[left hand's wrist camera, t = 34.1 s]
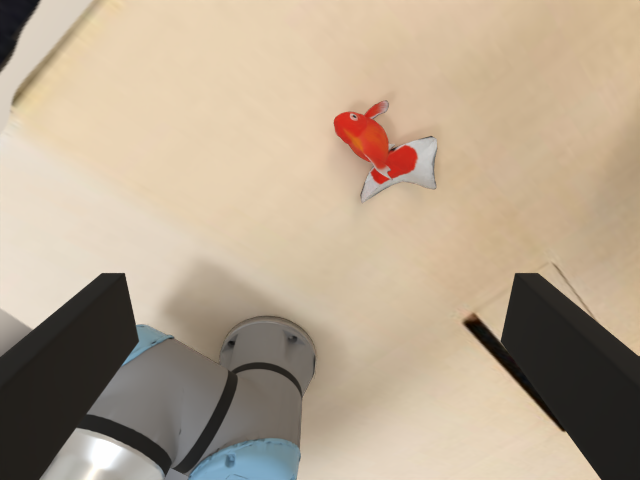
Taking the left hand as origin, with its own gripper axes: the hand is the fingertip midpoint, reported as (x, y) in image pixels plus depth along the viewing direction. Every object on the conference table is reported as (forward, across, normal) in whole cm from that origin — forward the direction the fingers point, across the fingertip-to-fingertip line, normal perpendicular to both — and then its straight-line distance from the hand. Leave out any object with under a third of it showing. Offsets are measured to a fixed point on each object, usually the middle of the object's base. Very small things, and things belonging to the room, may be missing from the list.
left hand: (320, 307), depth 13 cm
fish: (+39, -8, 0) cm, 40 cm away
